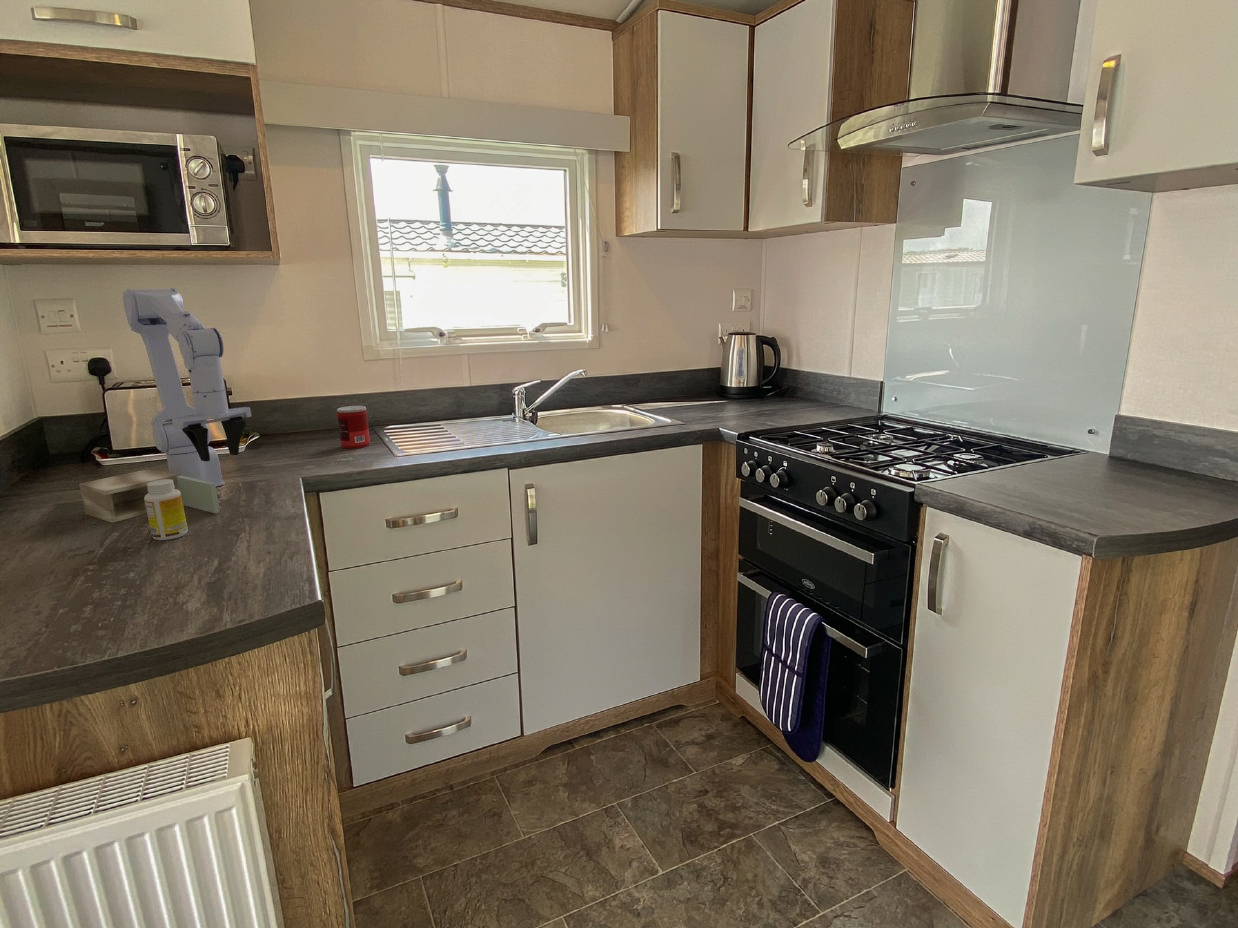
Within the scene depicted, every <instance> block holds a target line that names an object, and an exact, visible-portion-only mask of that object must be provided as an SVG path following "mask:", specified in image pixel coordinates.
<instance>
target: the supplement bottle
mask: <svg viewBox="0 0 1238 928" xmlns="http://www.w3.org/2000/svg"><path fill="white" fill-rule="evenodd" d="M147 488H148V494H146V495H145V497H144V501H145V505H146V510H147V514H146V515H147V518H148V523H149V529H150V533H151V537H152V538H153V539H154V540H156V541H169V540H174V539H175V540H176V539H178V538H181V537H183V536H185V535H186V534H187V533H188V531H189V529H188V523H187V518H186V514H185V507H184V505H183V502H182V497H181V492H180V491H179V490H177V489H174V488H175V487H174V483H173V480H170V479H164V480H156V481H152V482H149V483H148V484H147Z"/></svg>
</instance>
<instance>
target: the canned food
mask: <svg viewBox="0 0 1238 928" xmlns="http://www.w3.org/2000/svg"><path fill="white" fill-rule="evenodd" d="M367 411H368V410H367V407H366V406H364V405H350V406H349V405H348V406H342V407H339V408H337V409H336V415H337V422H338V424H337V425H338V432H339V439H340V445H341V447H342V448H343V449H347V450H354V449H355V450H356V449H362V448H366V447H368V446H370V443H371V438H370V430H369V429H370V428H369V422H368V421H369V420H368V419H369V418H368V412H367Z"/></svg>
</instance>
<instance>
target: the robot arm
mask: <svg viewBox="0 0 1238 928" xmlns="http://www.w3.org/2000/svg"><path fill="white" fill-rule="evenodd" d="M122 302H123V303H122V304H123V309H124V313H125V317H126V320H127V324H128V325H129V327H130V330H131V331H132V332H134V333H137V334H139V335H140V337H141V339H142V341H143V343H144V346H145V350H146V353H147V357H148V360H149V365H150V368H151V371H152V374H153V375H152V376H153V378H154V379H153V380H154V382H155V386H156V389H157V393H158V396H159V400H160V404H161V408H162V409H160V410H159V411H158V412H157V413H156V414H155V415H154V416H153V417H152V420H151V428H152V437H153V438H152V439H153V442H154V444H155V446H156V448H157V450H159V451H160V452H162V453H165V454H166V455H165V456H166V461H167V465H168V466H167V467H168V471H169V472H168V473H170V474H174V475H177V477H178V476H185V477H190V478H194V479H199V480H203V481H208V482H212V483H215V486H216V487H221V486H224V485H225V484H226V483H225V482H224V480H223V476H222V471H221V469H222V468H221V464H220V459H219V455H218V452H217V451H216V450H215V448H213V447H212V446H209V443H210V442H211V430H210V427H209V424H212V423H213V424H214V423H218V422H220V424H221V426H222V428H223V432H224V433H225V437H226V442H227V443H226V444H227V449H228V453H229V455H232V456H239V452H240V444H241V439H242V435H243V433H244V430H245V427H246V426H247V419H245V418H250V417H252V410H251V407H249V406H243V407H234V408H229V405H228V404H229V403H228V399H227V391H226V387H225V380H224V375H223V367H222V362H221V358H223V356H224V349H225V348H224V342H223V338H222V335H221V333H220V331H219V330H218V329H217V328H216V327H209V328H206V326H205V325H204V324H203V323H202V322H201V321H200V320H199V319H198V318H197V317H196V316H195V315H194V314H192V313H191V312H189V311H187V310H185V307H184V300H183V297H182V295H181V293H180V291H178V290H177V289H176V288H174V287H172V288H164V289H163V288H162V289H161V288H160V289H159V288H154V289H153V288H152V289H148V288H147V289H145V288H144V289H143V288H142V289H131V288H126V289H125V291H124V292H123V294H122ZM184 310H185V311H184ZM170 335H171V337H172V338H173V339H174V340H176V342H177V343H178V348H179V352H180V355H181V356H182V359H183V364H184V367H185V369H187V372H188V376H189V382H190V388H191V394H192V399H193V406H194V407H193V406H191V405H189V404H188V402H187V398H186V394H185V391H184V387H183V384H182V380H181V377H180V376H181V375H180V372H179V369H178V366H177V362H176V359H175V354H174V351H173V348H172V344H171V341H170Z"/></svg>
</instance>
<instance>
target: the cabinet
mask: <svg viewBox="0 0 1238 928" xmlns="http://www.w3.org/2000/svg"><path fill="white" fill-rule="evenodd" d="M164 479H170V480H173V483H174V487H175V488H174V489H177V490H179V488H178V482H177V475H174V474H170V472H165V471H161V470H156V469H151V468H148V469H142V470H138V471H134V472H128V473H124V474H119V475H118V474H117V475H115V476H114V475H113V476H108V477H104V478H98V479H96V480H95V479H94V480H91V481H90V480H89V481H85V482H81V483H79V488H80V489H79V490H80V494H81V499H82V503H83V506H84V507H83V508H84V512H85V515H88V516H90V517H94V518H95V519H96V518H97V519H99V520H103V521H106V522H109V523H116V522H119V521H123V520H128V519H132V518H135V517H139V516H142V515H143V516H144V515H147V510H146V505H145V501H144V497H145V495H146V494H148V488H147V484H148V483H149V482H152V481H156V480H164Z"/></svg>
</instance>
